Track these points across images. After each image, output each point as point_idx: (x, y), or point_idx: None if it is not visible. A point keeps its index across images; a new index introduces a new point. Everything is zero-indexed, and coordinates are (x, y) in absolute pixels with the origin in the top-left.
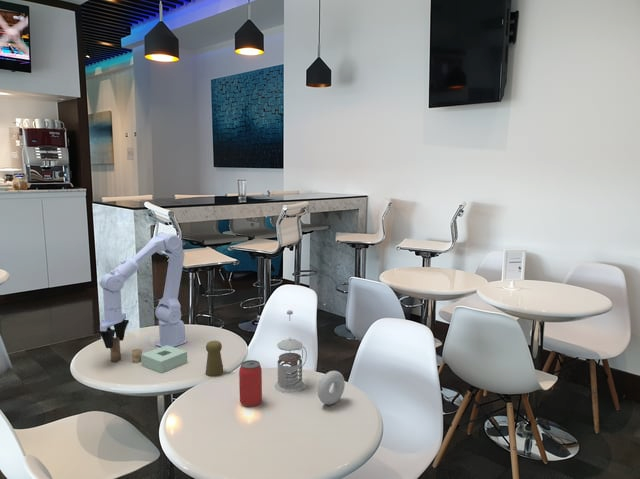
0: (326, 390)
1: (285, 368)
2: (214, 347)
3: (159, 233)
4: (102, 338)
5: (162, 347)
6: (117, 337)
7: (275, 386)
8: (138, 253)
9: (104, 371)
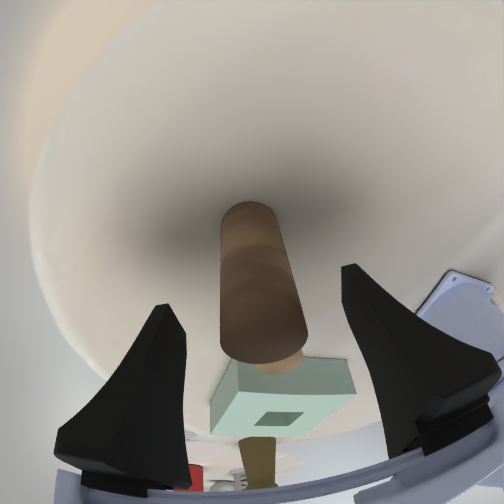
0: None
1: None
2: None
3: None
4: (109, 378)
5: (331, 397)
6: (306, 336)
7: (239, 469)
8: None
9: (113, 271)
